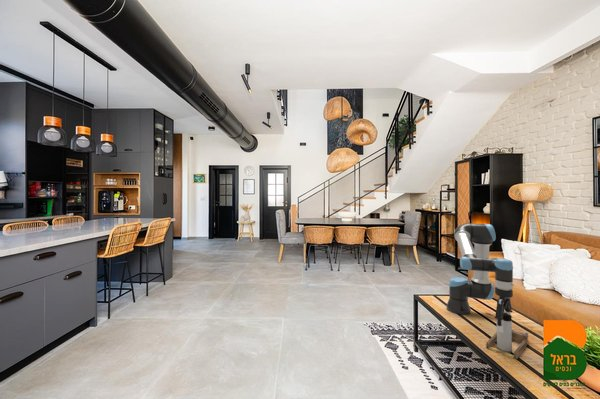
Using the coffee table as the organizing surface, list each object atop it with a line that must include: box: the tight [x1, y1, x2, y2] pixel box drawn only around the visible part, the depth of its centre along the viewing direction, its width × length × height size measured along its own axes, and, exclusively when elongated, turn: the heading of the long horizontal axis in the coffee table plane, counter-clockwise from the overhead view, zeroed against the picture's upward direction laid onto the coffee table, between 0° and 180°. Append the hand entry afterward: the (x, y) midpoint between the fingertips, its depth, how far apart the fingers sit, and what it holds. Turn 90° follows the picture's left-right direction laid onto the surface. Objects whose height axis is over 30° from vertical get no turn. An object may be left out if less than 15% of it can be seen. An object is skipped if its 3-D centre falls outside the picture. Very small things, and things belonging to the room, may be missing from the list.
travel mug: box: [496, 313, 513, 354], centre depth 139 cm, size 6×7×20 cm
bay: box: [485, 329, 529, 360], centre depth 144 cm, size 13×27×5 cm, turn 128°
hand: (503, 327), depth 140 cm, fingers open, 13 cm apart
